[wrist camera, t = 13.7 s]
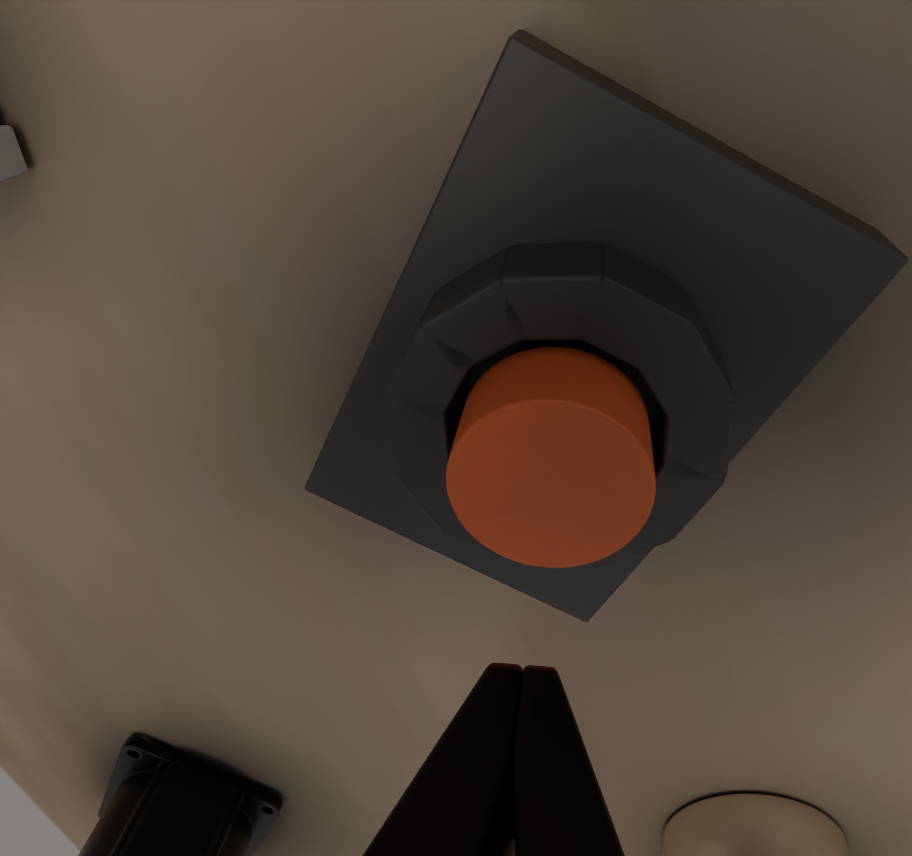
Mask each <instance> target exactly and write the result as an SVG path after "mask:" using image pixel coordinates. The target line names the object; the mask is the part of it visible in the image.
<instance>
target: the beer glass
mask: <svg viewBox="0 0 912 856" xmlns="http://www.w3.org/2000/svg"><path fill="white" fill-rule="evenodd" d="M662 849H663V854H664V856H851V855H850V850H849V845H848V842H847V839H846V837H845V835H844V833H843V832H842V830H841V829H840V828H839V826H838V825H837V824H836V823H835V822H834V821H833V820H831V819H830V818H829V817H827V816H826V815H825V814H823V813H822V812H820V811H818V810H817V809H815V808H813V807H811V806H808V805H806V804H804V803H801V802H798V801H795V800H792V799H788V798H784V797H780V796H774V795H767V794H756V793H737V794H726V795H720V796H715V797H710V798H707V799H703V800H700V801H697V802H695V803H693V804H690V805H689V806H687V807H685V808H683V809H682V810H680V811H679V812H678V813H676V814H675V815H674V816H673V817H672V818H671V819H670V820H669V822H668V823H667V825H666V826H665V828H664V831H663V836H662Z"/></svg>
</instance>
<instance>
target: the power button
mask: <svg viewBox="0 0 912 856" xmlns="http://www.w3.org/2000/svg"><path fill="white" fill-rule="evenodd" d="M446 487H447V493H448V497H449V500H450V503H451V506H452V508H453V510H454V512H455V514H456V516H457V518H458V519H459V521H460V522H461V524H462V525H463V526H464V528H465V529H466V530H467V531H468V532H469V533H470V534H471V535H472V536H473V537H474V538H475V539H476V540H477V541H479V542H480V543H481V544H482V545H484V546H485V547H487V548H488V549H490V550H491V551H493V552H495V553H497V554H499V555H501V556H503V557H505V558H508V559H510V560H513V561H516V562H519V563H522V564H526V565H531V566H537V567H546V568H566V567H575V566H580V565H585V564H589V563H592V562H595V561H598V560H601V559H603V558H605V557H608V556H610V555H612V554H613V553H615V552H617V551H618V550H620V549H621V548H623V547H624V546H625V545H626V544H628V543H629V542H630V541H631V540H632V539H633V538H634V537H635V536H636V535H637V534H638V533H639V531H640V530H641V528H642V527H643V526H644V524H645V523H646V521H647V519H648V517H649V515H650V513H651V510H652V507H653V504H654V500H655V494H656V478H655V469H654V461H653V452H652V443H651V435H650V426H649V419H648V413H647V409H646V406H645V403H644V401H643V399H642V397H641V395H640V393H639V391H638V390H637V388H636V387H635V385H634V384H633V383H632V381H631V380H630V379H629V378H628V377H627V376H626V375H625V374H624V373H623V372H622V371H620V370H619V369H618V368H617V367H615V366H614V365H613V364H611V363H609V362H608V361H606V360H604V359H602V358H600V357H598V356H596V355H593V354H591V353H588V352H585V351H582V350H578V349H573V348H567V347H539V348H534V349H528V350H525V351H522V352H518V353H515V354H513V355H511V356H509V357H506V358H504V359H503V360H501V361H499V362H498V363H496V364H494V365H493V366H492V367H491V368H489V369H488V370H487V371H486V372H485V373H484V374H483V375H482V376H481V377H480V378H479V379H478V380H477V382H476V383H475V385H474V386H473V388H472V389H471V391H470V393H469V395H468V397H467V399H466V403H465V406H464V409H463V413H462V416H461V419H460V423H459V426H458V429H457V433H456V436H455V439H454V443H453V446H452V449H451V453H450V456H449V459H448V462H447V469H446Z"/></svg>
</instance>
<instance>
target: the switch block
mask: <svg viewBox="0 0 912 856" xmlns="http://www.w3.org/2000/svg"><path fill="white" fill-rule="evenodd" d="M907 261H908V258H907V257H906V256H905V255H904V254H903V253H902V252H901V251H900V250H899V249H898V248H897V247H896V246H895V245H894V244H893V243H891V242H890V241H889V240H888V239H887V238H886V237H885V236H884V235H883V234H882V233H881V232H880V231H879V230H877V229H875V228H873V227H872V226H870V225H868V224H866V223H865V222H863V221H861V220H859V219H858V218H856V217H854V216H852V215H850V214H849V213H847V212H845V211H843V210H842V209H840V208H838V207H836V206H834V205H833V204H831V203H829V202H827V201H826V200H824V199H822V198H820V197H818V196H817V195H815V194H813V193H811V192H810V191H808V190H806V189H804V188H802V187H801V186H799V185H797V184H795V183H794V182H792V181H790V180H788V179H787V178H785V177H783V176H781V175H779V174H778V173H776V172H774V171H772V170H771V169H769V168H767V167H765V166H763V165H762V164H760V163H758V162H756V161H755V160H753V159H751V158H749V157H747V156H746V155H744V154H742V153H740V152H739V151H737V150H735V149H733V148H732V147H730V146H728V145H726V144H724V143H723V142H721V141H719V140H717V139H716V138H714V137H712V136H710V135H708V134H707V133H705V132H703V131H701V130H700V129H698V128H696V127H694V126H692V125H691V124H689V123H687V122H685V121H684V120H682V119H680V118H678V117H676V116H675V115H673V114H671V113H669V112H668V111H666V110H664V109H662V108H661V107H659V106H657V105H655V104H653V103H652V102H650V101H648V100H646V99H645V98H643V97H641V96H639V95H637V94H636V93H634V92H632V91H630V90H629V89H627V88H625V87H623V86H621V85H620V84H618V83H616V82H614V81H613V80H611V79H609V78H607V77H606V76H604V75H602V74H600V73H598V72H597V71H595V70H593V69H591V68H590V67H588V66H586V65H584V64H582V63H581V62H579V61H577V60H575V59H574V58H572V57H570V56H568V55H566V54H565V53H563V52H561V51H559V50H558V49H556V48H554V47H552V46H550V45H549V44H547V43H545V42H543V41H542V40H540V39H538V38H536V37H535V36H533V35H531V34H529V33H527V32H526V31H524V30H521V29H519V30H518V31H517V32H515V33H514V34H513V35H512V36H510V37H509V38H508V41H507V43H506V45H505V47H504V49H503V52H502V54H501V56H500V58H499V60H498V63H497V65H496V67H495V69H494V71H493V74H492V76H491V78H490V80H489V82H488V85H487V87H486V89H485V91H484V93H483V96H482V98H481V100H480V102H479V104H478V107H477V109H476V111H475V113H474V115H473V118H472V120H471V122H470V124H469V126H468V129H467V131H466V133H465V135H464V137H463V140H462V142H461V144H460V146H459V148H458V151H457V153H456V155H455V157H454V159H453V162H452V164H451V166H450V168H449V170H448V173H447V175H446V177H445V179H444V181H443V184H442V186H441V188H440V190H439V192H438V195H437V197H436V199H435V201H434V203H433V206H432V208H431V210H430V212H429V214H428V217H427V219H426V221H425V223H424V225H423V228H422V230H421V232H420V234H419V236H418V239H417V241H416V243H415V245H414V247H413V250H412V252H411V254H410V256H409V258H408V261H407V263H406V265H405V267H404V269H403V272H402V274H401V276H400V278H399V280H398V283H397V285H396V287H395V289H394V291H393V294H392V296H391V298H390V300H389V302H388V305H387V307H386V309H385V311H384V313H383V316H382V318H381V320H380V322H379V324H378V327H377V329H376V331H375V333H374V335H373V338H372V340H371V342H370V344H369V346H368V349H367V351H366V353H365V355H364V357H363V360H362V362H361V364H360V366H359V368H358V371H357V373H356V375H355V377H354V379H353V382H352V384H351V386H350V388H349V390H348V393H347V395H346V397H345V399H344V401H343V404H342V406H341V408H340V410H339V412H338V415H337V417H336V419H335V421H334V423H333V426H332V428H331V430H330V432H329V434H328V437H327V439H326V441H325V443H324V445H323V448H322V450H321V452H320V454H319V456H318V459H317V461H316V463H315V465H314V467H313V470H312V472H311V474H310V476H309V478H308V481H307V483H306V485H305V490H307V491H309V492H311V493H313V494H315V495H317V496H319V497H321V498H324V499H326V500H328V501H330V502H332V503H334V504H336V505H338V506H340V507H343V508H345V509H347V510H349V511H351V512H353V513H355V514H357V515H360V516H362V517H364V518H366V519H368V520H370V521H372V522H374V523H377V524H379V525H381V526H383V527H385V528H387V529H389V530H391V531H393V532H396V533H398V534H400V535H402V536H404V537H406V538H408V539H410V540H413V541H415V542H417V543H419V544H421V545H423V546H425V547H427V548H430V549H432V550H434V551H436V552H438V553H440V554H442V555H444V556H447V557H449V558H451V559H453V560H455V561H457V562H459V563H461V564H463V565H466V566H468V567H470V568H472V569H474V570H476V571H478V572H480V573H483V574H485V575H487V576H489V577H491V578H493V579H495V580H497V581H500V582H502V583H504V584H506V585H508V586H510V587H512V588H514V589H516V590H519V591H521V592H523V593H525V594H527V595H529V596H531V597H533V598H536V599H538V600H540V601H542V602H544V603H546V604H548V605H550V606H553V607H555V608H557V609H559V610H561V611H563V612H565V613H567V614H569V615H572V616H574V617H576V618H578V619H580V620H582V621H584V622H588V621H589V620H590V619H591V617H592V616H593V615H594V614H595V613H596V612H597V611H598V610H599V608H600V607H601V606H602V605H603V604H604V603H605V602H606V601H607V599H608V598H609V597H610V596H611V595H612V594H613V593H614V592H615V590H616V589H617V588H618V587H619V586H620V585H621V584H622V583H623V581H624V580H625V579H626V578H627V577H628V576H629V575H630V574H631V572H632V571H633V570H634V569H635V568H636V567H637V566H638V565H639V563H640V562H641V561H642V560H643V559H644V558H645V557H646V556H647V554H648V553H649V552H650V551H651V550H652V549H653V548H654V547H655V546H658V545H661V544H663V543H666V542H669V541H670V540H671V539H673V538H675V537H676V535H677V534H678V533H679V532H680V531H681V530H682V529H683V528H684V527H685V525H686V524H687V523H688V522H689V521H690V520H691V519H692V518H693V517H694V516H695V514H696V513H697V512H698V511H699V510H700V509H701V508H702V507H703V506H704V504H705V503H706V502H707V501H708V500H709V499H710V498H711V497H712V496H713V494H714V493H715V492H716V491H717V490H718V489H719V488H720V487H721V486H722V484H723V483H724V479H725V478H726V476H727V469H728V463H729V462H730V461H731V460H732V459H733V458H734V456H735V455H736V454H737V453H738V452H739V451H740V450H741V449H742V447H743V446H744V445H745V444H746V443H747V442H748V441H749V440H750V438H751V437H752V436H753V435H754V434H755V433H756V432H757V431H758V429H759V428H760V427H761V426H762V425H763V424H764V423H765V422H766V420H767V419H768V418H769V417H770V416H771V415H772V414H773V413H774V411H775V410H776V409H777V408H778V407H779V406H780V405H781V404H782V402H783V401H784V400H785V399H786V398H787V397H788V396H789V395H790V393H791V392H792V391H793V390H794V389H795V388H796V387H797V386H798V384H799V383H800V382H801V381H802V380H803V379H804V378H805V377H806V375H807V374H808V373H809V372H810V371H811V370H812V369H813V368H814V366H815V365H816V364H817V363H818V362H819V361H820V360H821V359H822V357H823V356H824V355H825V354H826V353H827V352H828V351H829V350H830V348H831V347H832V346H833V345H834V344H835V343H836V342H837V341H838V339H839V338H840V337H841V336H842V335H843V334H844V333H845V332H846V330H847V329H848V328H849V327H850V326H851V325H852V324H853V323H854V321H855V320H856V319H857V318H858V317H859V316H860V315H861V314H862V312H863V311H864V310H865V309H866V308H867V307H868V306H869V305H870V303H871V302H872V301H873V300H874V299H875V298H876V297H877V296H878V294H879V293H880V292H881V291H882V290H883V289H884V288H885V287H886V285H887V284H888V283H889V282H890V281H891V280H892V279H893V278H894V276H895V275H896V274H897V273H898V272H899V271H900V270H901V269H902V267H903V266H904V265H905V264H906V263H907ZM539 347H567V348H573V349H578V350H582V351H585V352H588V353H591V354H593V355H596V356H598V357H600V358H602V359H604V360H606V361H608V362H609V363H611V364H613V365H614V366H615V367H617V368H618V369H619V370H620V371H622V372H623V373H624V374H625V375H626V376H627V377H628V378H629V379H630V380H631V381H632V383H633V384H634V385H635V387H636V388H637V390H638V391H639V393H640V395H641V397H642V399H643V401H644V403H645V406H646V409H647V413H648V419H649V426H650V435H651V443H652V452H653V461H654V469H655V478H656V494H655V500H654V504H653V507H652V510H651V513H650V515H649V517H648V519H647V521H646V523H645V524H644V526H643V527H642V528H641V530H640V531H639V533H638V534H637V535H636V536H635V537H634V538H633V539H632V540H631V541H630V542H629V543H628V544H626V545H625V546H624V547H623V548H621V549H620V550H618V551H617V552H615V553H613V554H612V555H610V556H608V557H605V558H603V559H601V560H598V561H595V562H592V563H589V564H585V565H580V566H575V567H566V568H546V567H537V566H531V565H526V564H522V563H519V562H516V561H513V560H510V559H508V558H505V557H503V556H501V555H499V554H497V553H495V552H493V551H491V550H490V549H488V548H487V547H485V546H484V545H482V544H481V543H480V542H479V541H477V540H476V539H475V538H474V537H473V536H472V535H471V534H470V533H469V532H468V531H467V530H466V529H465V528H464V526H463V525H462V524H461V522H460V521H459V519H458V518H457V516H456V514H455V512H454V510H453V508H452V506H451V503H450V500H449V497H448V493H447V487H446V469H447V462H448V459H449V456H450V453H451V449H452V446H453V443H454V439H455V436H456V433H457V429H458V426H459V423H460V419H461V416H462V413H463V409H464V406H465V403H466V399H467V397H468V395H469V393H470V391H471V389H472V388H473V386H474V385H475V383H476V382H477V380H478V379H479V378H480V377H481V376H482V375H483V374H484V373H485V372H486V371H487V370H488V369H489V368H491V367H492V366H493V365H494V364H496V363H498V362H499V361H501V360H503V359H504V358H506V357H509V356H511V355H513V354H515V353H518V352H522V351H525V350H528V349H534V348H539Z"/></svg>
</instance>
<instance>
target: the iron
mask: <svg viewBox="0 0 912 856" xmlns="http://www.w3.org/2000/svg"><path fill="white" fill-rule="evenodd" d="M25 172H27V166H26V163H25V160H24V158H23V155H22V152H21V150H20V147H19V144H18V142H17V139H16V136H15V133H14V131H13V128H12V127H11V126H8V125H0V181H3V180H6V179H9V178H12V177H14V176H17V175H20V174H23V173H25Z"/></svg>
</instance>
